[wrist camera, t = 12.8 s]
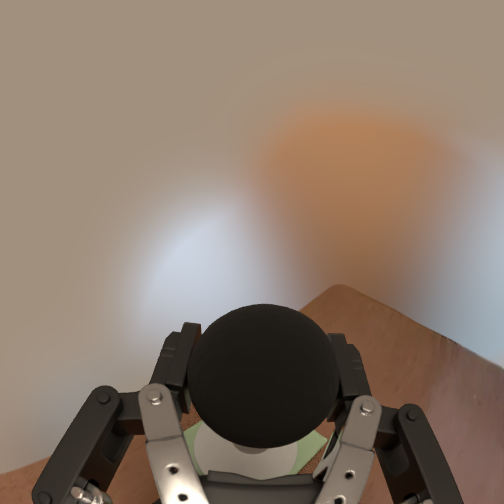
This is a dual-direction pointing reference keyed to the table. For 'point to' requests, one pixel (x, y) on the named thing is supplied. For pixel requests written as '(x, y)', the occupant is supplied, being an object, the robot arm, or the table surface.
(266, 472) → the scale
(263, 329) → the light bulb
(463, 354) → the table surface
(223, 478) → the robot arm
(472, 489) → the table surface
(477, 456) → the table surface
